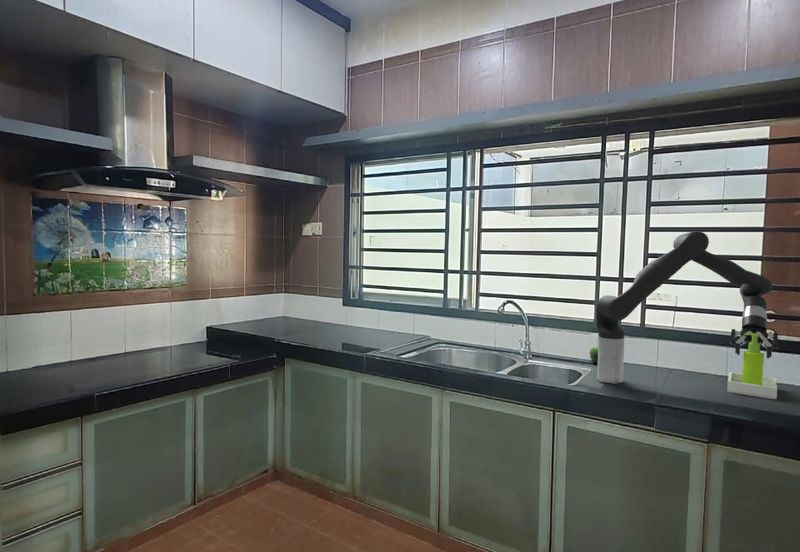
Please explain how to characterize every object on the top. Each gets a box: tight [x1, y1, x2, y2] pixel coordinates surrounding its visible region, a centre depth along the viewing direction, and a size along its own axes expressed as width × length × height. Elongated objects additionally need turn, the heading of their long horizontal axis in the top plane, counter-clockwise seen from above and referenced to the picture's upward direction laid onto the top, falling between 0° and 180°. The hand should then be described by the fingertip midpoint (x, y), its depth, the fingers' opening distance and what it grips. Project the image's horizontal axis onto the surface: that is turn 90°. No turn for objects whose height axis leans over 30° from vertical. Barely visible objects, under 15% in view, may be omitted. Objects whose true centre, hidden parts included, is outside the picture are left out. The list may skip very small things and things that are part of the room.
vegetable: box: [589, 346, 598, 365], centre depth 218 cm, size 7×7×20 cm
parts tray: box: [726, 371, 778, 400], centre depth 172 cm, size 16×14×4 cm
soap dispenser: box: [741, 333, 765, 385], centre depth 172 cm, size 6×7×20 cm
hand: (753, 355), depth 171 cm, fingers open, 8 cm apart
